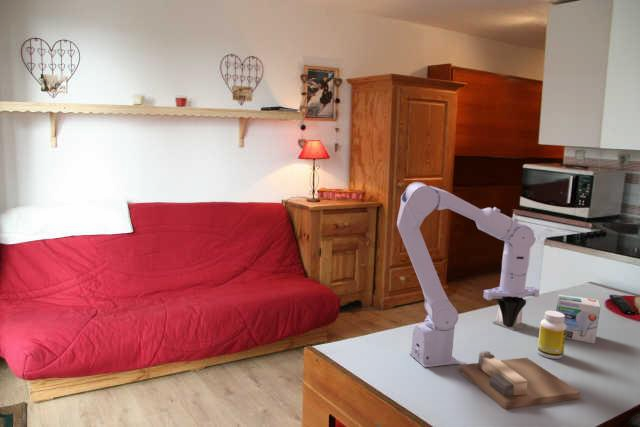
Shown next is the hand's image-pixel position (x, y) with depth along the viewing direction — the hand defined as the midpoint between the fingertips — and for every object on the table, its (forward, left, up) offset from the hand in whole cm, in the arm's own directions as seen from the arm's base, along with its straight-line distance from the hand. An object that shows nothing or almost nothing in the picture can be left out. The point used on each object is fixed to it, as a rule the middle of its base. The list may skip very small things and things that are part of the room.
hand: (507, 325), depth 125 cm
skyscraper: (+18, +22, -10) cm, 30 cm away
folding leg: (-9, -10, -8) cm, 16 cm away
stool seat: (-4, -10, -9) cm, 15 cm away
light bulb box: (+31, +10, -10) cm, 34 cm away
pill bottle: (+15, +1, -10) cm, 18 cm away
